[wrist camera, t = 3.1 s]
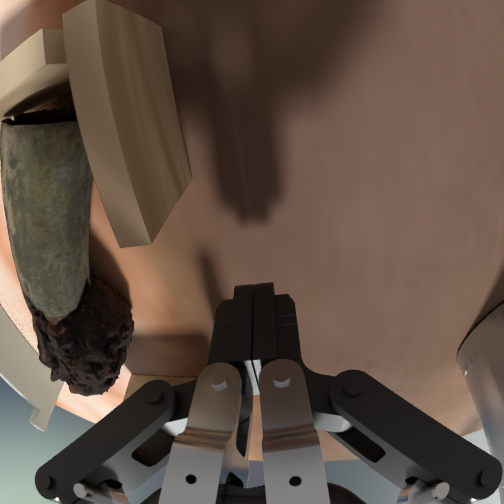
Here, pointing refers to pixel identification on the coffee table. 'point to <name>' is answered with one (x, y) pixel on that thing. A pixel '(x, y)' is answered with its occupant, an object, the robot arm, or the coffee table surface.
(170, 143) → the socket block
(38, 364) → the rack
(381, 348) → the coffee table surface
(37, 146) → the dark elongated piece
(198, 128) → the coffee table surface
